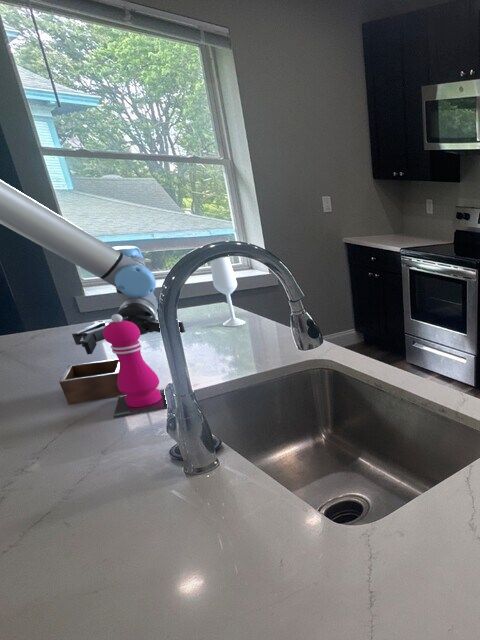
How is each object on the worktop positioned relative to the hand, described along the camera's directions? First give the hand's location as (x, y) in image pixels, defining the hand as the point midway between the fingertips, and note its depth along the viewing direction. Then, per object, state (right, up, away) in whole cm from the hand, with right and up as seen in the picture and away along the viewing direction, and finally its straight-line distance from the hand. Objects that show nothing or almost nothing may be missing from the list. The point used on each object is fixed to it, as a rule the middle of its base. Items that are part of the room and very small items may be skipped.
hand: (127, 343), depth 101 cm
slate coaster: (+2, -13, +3) cm, 14 cm away
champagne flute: (-9, +11, +54) cm, 56 cm away
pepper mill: (+2, -13, +3) cm, 13 cm away
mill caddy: (-12, -10, +8) cm, 18 cm away
